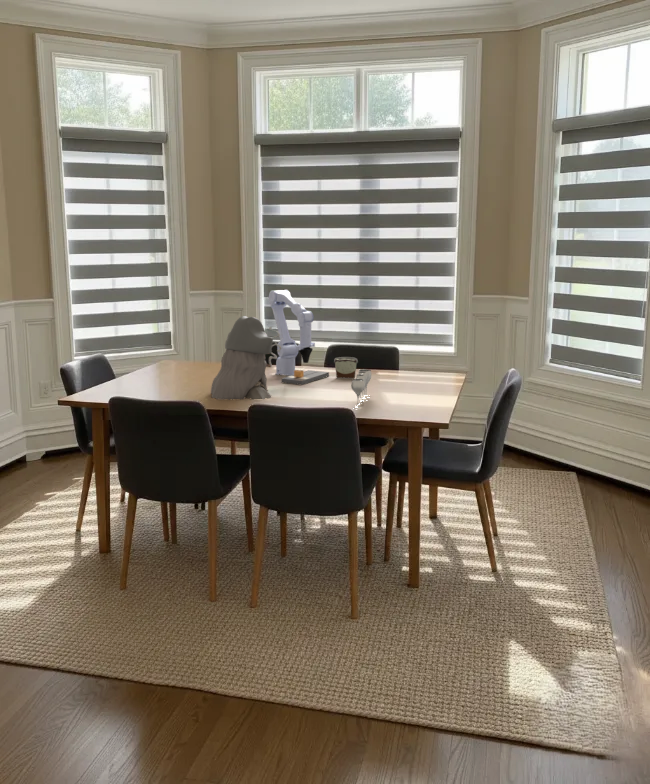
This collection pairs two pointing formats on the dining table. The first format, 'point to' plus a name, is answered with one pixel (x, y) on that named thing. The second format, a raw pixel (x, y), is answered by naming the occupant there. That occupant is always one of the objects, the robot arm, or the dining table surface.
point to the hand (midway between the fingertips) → (305, 362)
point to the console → (305, 377)
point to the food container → (345, 367)
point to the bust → (244, 362)
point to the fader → (298, 373)
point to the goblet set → (361, 383)
